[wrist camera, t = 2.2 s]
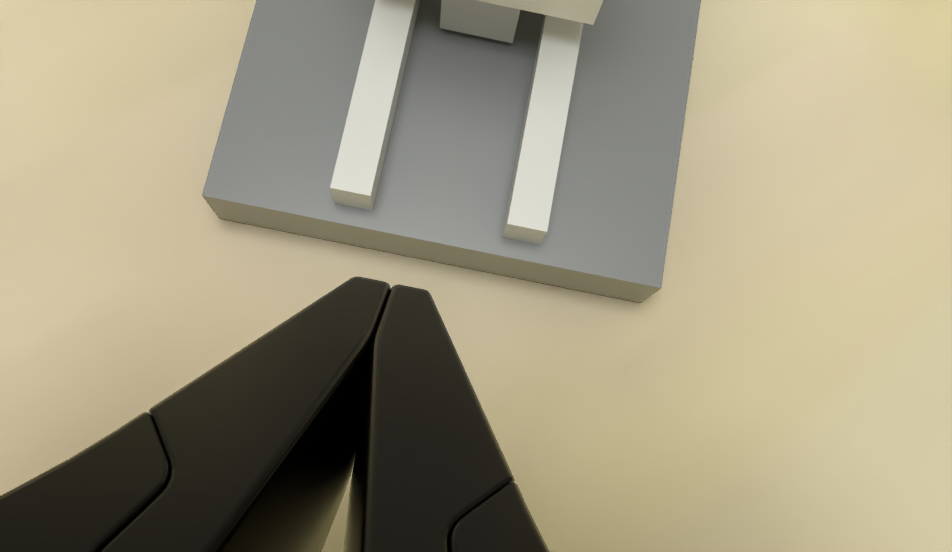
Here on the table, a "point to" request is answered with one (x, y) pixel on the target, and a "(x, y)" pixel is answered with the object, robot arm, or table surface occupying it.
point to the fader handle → (509, 15)
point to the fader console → (464, 136)
